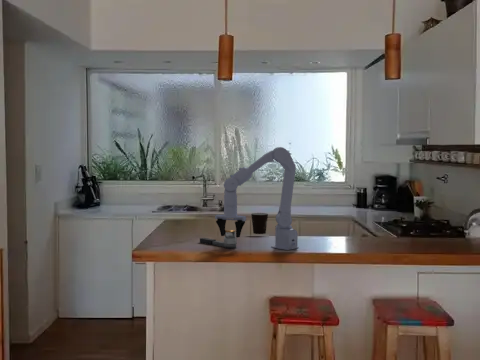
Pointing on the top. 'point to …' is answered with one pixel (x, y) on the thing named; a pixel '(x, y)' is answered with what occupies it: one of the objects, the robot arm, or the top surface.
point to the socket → (230, 237)
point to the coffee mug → (259, 222)
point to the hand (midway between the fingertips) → (230, 236)
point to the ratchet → (217, 243)
